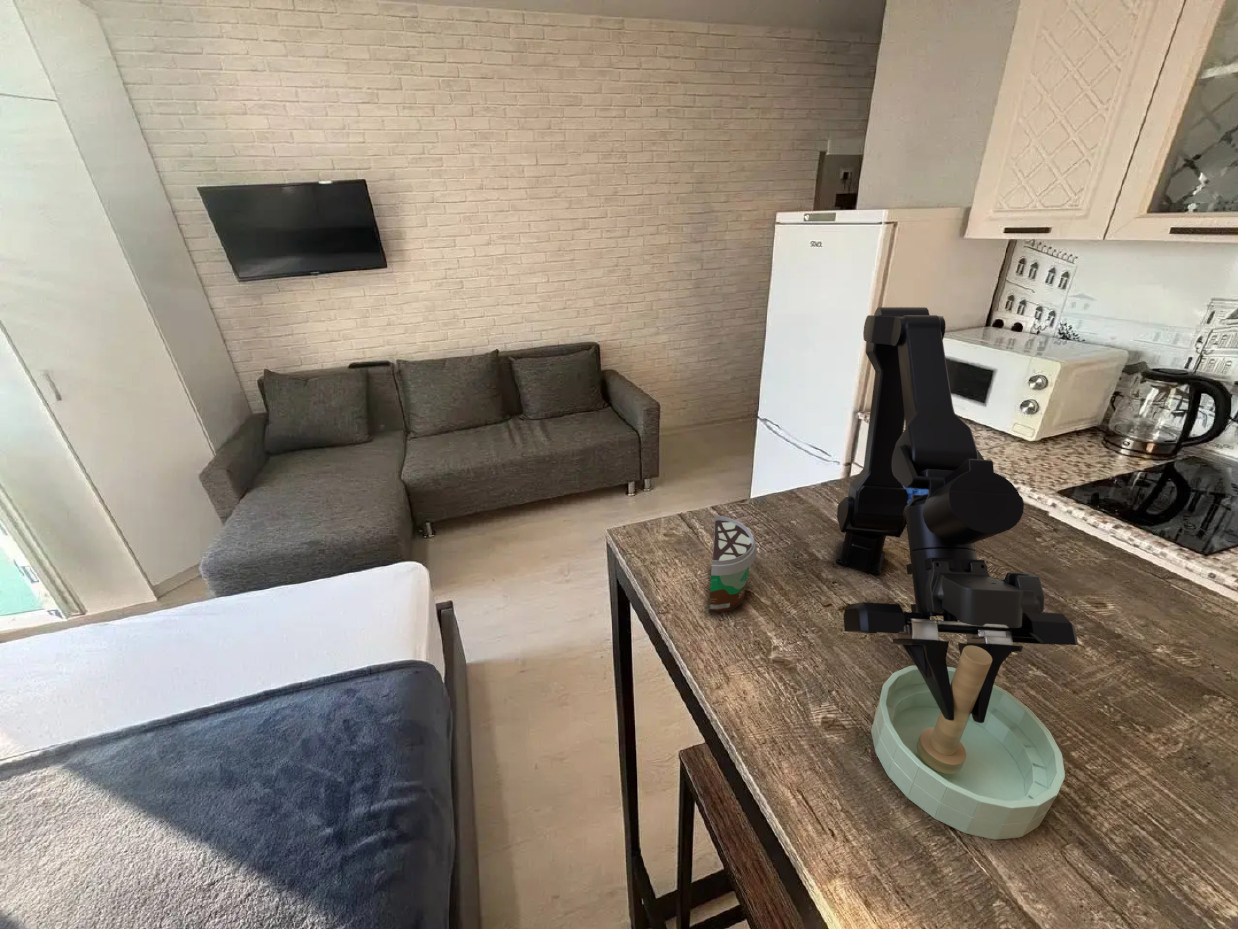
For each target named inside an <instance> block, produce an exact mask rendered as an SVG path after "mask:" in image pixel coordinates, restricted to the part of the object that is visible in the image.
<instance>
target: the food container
mask: <svg viewBox="0 0 1238 929" xmlns="http://www.w3.org/2000/svg"><path fill="white" fill-rule="evenodd" d="M712 540H713V541H712V560H711V569H710V570H711V572H710V589H709V606H708V608H709V609H708V613H710V614H713V613H714V614H720V613H726V612H729V611H732V610H734V609H736V608H738V607H739V606H740V605H741V604H742V603H743V600H744V598H745V592H746V587H747V582H748V578H749V577H748V576H749V571H750V566H752V565H753V563H754V562H755V561H756V558H757V554H758V553H757V545H756V541H755V538H754V535H753V534H752V532H751V530H750V529H749V528H748V527H747V526H746V525H744V524H743V523H742V522H740V521H738V520H735V519H733V518H730V517H727V516H722V515H716V514H715V515H714V524H713V539H712Z"/></svg>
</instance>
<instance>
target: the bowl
mask: <svg viewBox="0 0 1238 929" xmlns="http://www.w3.org/2000/svg"><path fill="white" fill-rule="evenodd" d="M947 669H948V675H949V681H950V684H951V681H952V678H953V676H954V673H955V670H956V667H952V666H947ZM940 711H941V710H940V709H939V707H938V705H937V703H936V701H935V699H934V697H933V695H932V694H931V692H930V690H929V688H928V686H927V684H926V682H925V680H924V679H923V677H922V675H921V673H920V671H919V670H918V668H917V667H916V665H915V664H914V665H909V666H906V667H904V668H902V669H899V670H896V671H895V672H893V673H891V675H890V676H889V677H888V679H887V680H886V681H885V682H884V683H883V684H882V687H881V690H880V695H879V698H878V702H877V705H876V709H875V712H874V715H873V721H872V725H871V730H870V732H871V738H872V743H873V748H874V753H875V755H876V756H877V758H878V760H879V762H880V764H881V766H882V767H883V769H884V771H885V774H886V775H887V776H888V778H889V779H890V780H891V781H892V783H893V784H895V785H896V787H897V788H898V789H899V790H900V791H901V792H902V794H904V796H905V797H906V798H907V799H908V800H909V801H911V802H912V803H914V805H916V807H918V808H920V809H921V810H923V811H924V812H925V813H926V814H927V815H929V816H931V817H932V818H933V819H935V820H936V821H938V822H941V823H943V824H944V825H947V826H949V827H951V828H953V829H955V830H957V831H959V832H962V833H963V834H967V835H971V836H976V837H980V838H985V839H989V840H994V841H996V840H1006V839H1007V840H1008V839H1017V838H1023V837H1024V836H1026V835H1027V834H1029V833H1030V832H1032V831H1033V830H1035V829H1037V828H1038V827H1040V825H1041V824H1042V822H1043V821H1044V819H1045V817H1046V816H1047V813H1049V810H1050V808H1051V807H1052V805H1053V804H1054V802H1055V800H1056V798H1057V797H1058V795H1059V793H1060V791H1061V788H1062V786H1063V783H1064V781H1065V778H1066V772H1065V764H1064V758H1063V753H1062V751H1061V749H1060V747H1059V745H1058V744H1057V742H1056V740H1055V739H1054V736H1053V735H1052V733H1051V731H1050V730H1049V729H1048V728H1047V726H1046V725H1045V724H1044V723H1043V722H1042V720H1040V718H1038V716H1037V715H1036V714H1035V713H1034V712H1033V710H1031V709H1030V707H1028V706H1026V705H1025V704H1024V703H1023V702H1021V701H1020V700H1019V699H1018V698H1017V697H1015V696H1014V695H1013V694H1011V693H1010V692H1009V691H1007V690H1006V689H1003V688H1002V687H1001V686H998V685H996V684H995V683H994V685H993V689H992V693H991V697H990V701H989V705H988V709H987V713H986V717H985V720H984V723H978V722H975V721H974V720H973V717H972V714H971V715H970V717H969V720H968V722H967V725H966V727H965V730H964V732H963V735H962V737H961V740H960V742H961V743H962V744H963V746H964V748H965V751H966V759H965V761H964V764H963V766H962V768H961V770H960V771H959V772H957V773H954V774H945V773H941V772H939V771H937V770H935V769H933V768H931V767H930V766H929V765H927V764H926V763H925V762H924V761H923V759H922V758H921V757H920V755H919V753H918V750H917V743H918V740H919V737H920V734H921V732H922V731H923V730H924V729H926V728H930V727H935V725H936V722H937V720H938V717H939V714H940Z"/></svg>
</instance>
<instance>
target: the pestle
mask: <svg viewBox="0 0 1238 929" xmlns="http://www.w3.org/2000/svg"><path fill="white" fill-rule="evenodd" d="M991 663H992V657H991V655H990V654H989V653H988V652H987V651H985V650H984V649H982V648H980V647H977V646H971V645H970V646H966V647H964V648H963V651H962V654H961V657H960V656H959V659H958V662H957V664H956V667H955V668H956V670H955V673H954V676H953V678H952V681H951V684H950V686H951V692H952V697H953V703H954V720H953V721H950V720H947V719H945V718H944V716H943V714H942V712H941V711H940V714H939V717H938V720H937V722H936V725H935V727H930V728H926V729H924V730H923V731H922V732H921V734H920V737H919V740H918V743H917V750H918V753H919V755H920V757H921V758H922V759H923V761H924V762H925V763H926V764H927V765H929V766H930V767H931V768H933V769H935V770H937V771H939V772H941V773H945V774H954V773H957V772H959V771H960V770H961V768H962V766H963V764H964V761H965V759H966V751H965V748H964V746H963V744H962V743H961V742H960V740H961V737H962V735H963V732H964V730H965V727H966V725H967V722H968V720H969V717H970V715H971V712H972V710H973V708H974V705H975V703H976V700H977V698H978V695H979V693H980V690H981V688H982V685H983V683H984V680H985V678H986V675H987V673H988V671H989V668H990V666H991Z"/></svg>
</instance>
